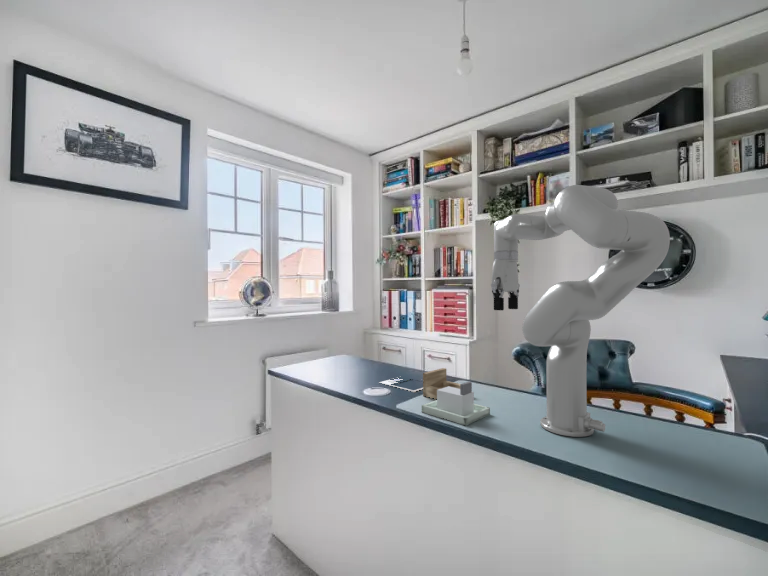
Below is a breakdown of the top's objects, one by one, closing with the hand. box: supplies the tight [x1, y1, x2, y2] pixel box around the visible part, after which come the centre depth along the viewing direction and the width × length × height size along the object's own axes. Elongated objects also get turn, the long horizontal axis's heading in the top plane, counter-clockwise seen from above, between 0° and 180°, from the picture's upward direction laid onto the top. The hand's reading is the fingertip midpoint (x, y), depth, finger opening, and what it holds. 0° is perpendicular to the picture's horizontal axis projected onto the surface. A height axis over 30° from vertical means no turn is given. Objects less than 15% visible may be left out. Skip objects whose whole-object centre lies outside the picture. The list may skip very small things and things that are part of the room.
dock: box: [422, 367, 461, 400], centre depth 126 cm, size 12×12×8 cm
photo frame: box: [378, 377, 423, 393], centre depth 142 cm, size 15×1×18 cm
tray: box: [421, 399, 491, 426], centre depth 108 cm, size 16×13×2 cm
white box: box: [437, 381, 475, 416], centre depth 109 cm, size 9×6×9 cm, turn 44°
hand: (506, 309), depth 119 cm, fingers open, 9 cm apart
